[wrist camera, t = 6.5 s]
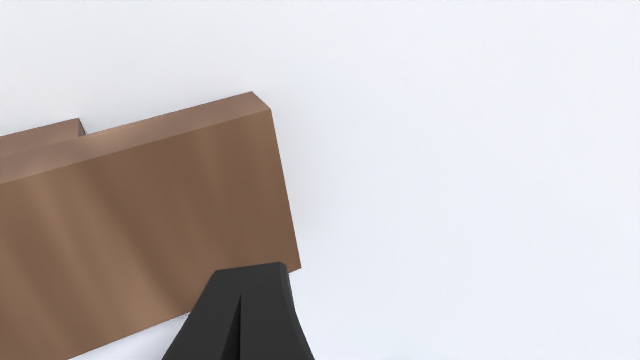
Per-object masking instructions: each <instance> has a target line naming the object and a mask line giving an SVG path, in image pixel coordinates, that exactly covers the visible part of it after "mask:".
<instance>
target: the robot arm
mask: <svg viewBox="0 0 640 360" xmlns="http://www.w3.org/2000/svg"><path fill="white" fill-rule="evenodd" d="M162 360H315V359H314V357H313V355H312V353H311V350H310V348H309V345H308V343H307V340H306V338H305V336H304V333H303V331H302V328H301V326H300V323H299V320H298V318H297V315H296V312H295V307H294V302H293V296H292V291H291V286H290V280H289V275H288V270H287V266H286V265H285V264H283V263H282V262H273V263H266V264H258V265H251V266H243V267H236V268H229V269H221V270H216V271H215V272H214V273H213V274H212V275H211V277H210V279H209V281H208V283H207V284H206V286H205V288H204V290H203V292H202V293H201V295H200V297H199V299H198V301H197V302H196V304H195V306H194V307H193V309H192V311H191V313H190V314H189V316H188V318H187V319H186V321H185V323H184V324H183V326H182V328H181V329H180V331H179V333H178V334H177V336H176V337H175V339H174V341H173V342H172V344H171V345H170V347H169V349H168V350H167V352H166V353H165V355H164V356H163V358H162Z"/></svg>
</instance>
